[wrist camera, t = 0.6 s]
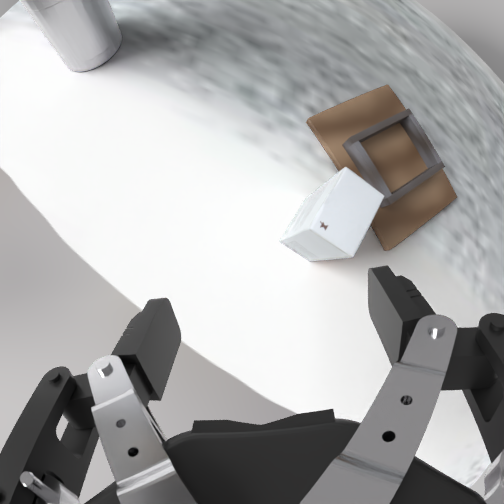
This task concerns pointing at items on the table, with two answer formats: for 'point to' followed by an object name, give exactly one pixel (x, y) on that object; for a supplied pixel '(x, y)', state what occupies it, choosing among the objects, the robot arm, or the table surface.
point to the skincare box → (333, 218)
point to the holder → (386, 160)
